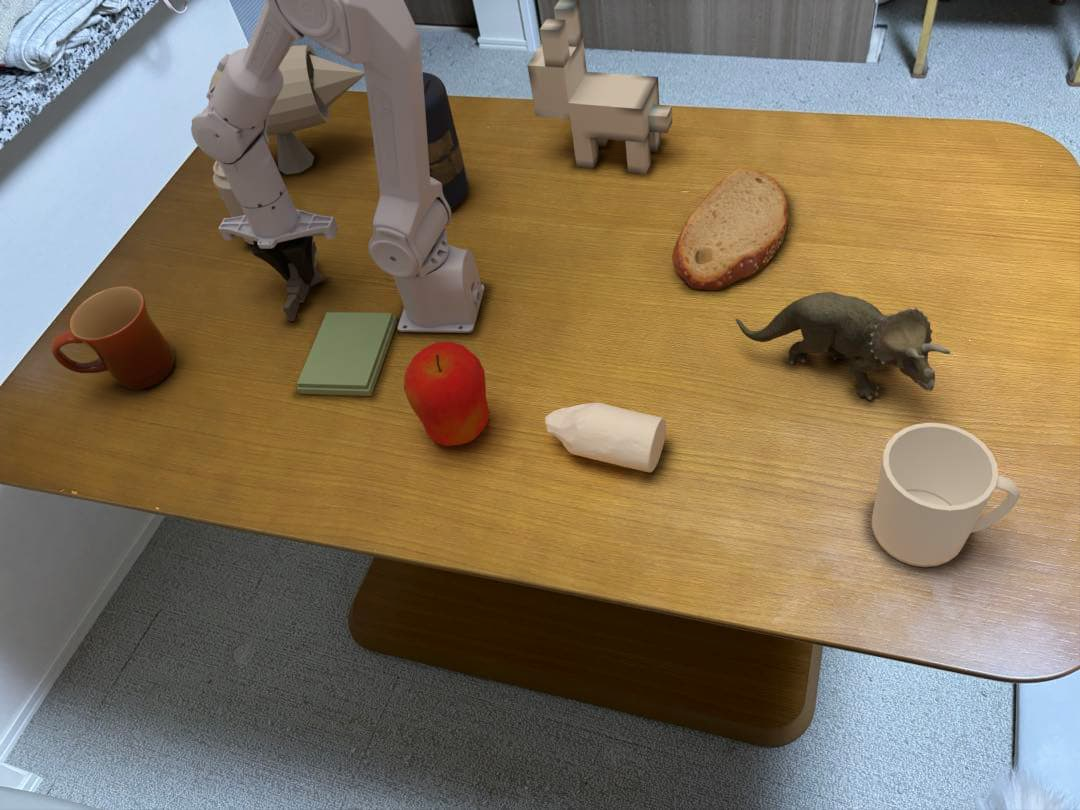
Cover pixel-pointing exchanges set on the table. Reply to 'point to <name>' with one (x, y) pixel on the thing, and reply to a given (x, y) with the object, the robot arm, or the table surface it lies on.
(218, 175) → the can
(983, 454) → the mug
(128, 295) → the mug
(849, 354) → the toy dinosaur
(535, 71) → the toy llama
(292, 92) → the jet engine
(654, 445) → the white tapered cylinder
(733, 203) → the bread slice
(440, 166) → the canister
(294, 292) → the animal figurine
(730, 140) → the table surface
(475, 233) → the table surface
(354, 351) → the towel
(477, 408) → the apple
